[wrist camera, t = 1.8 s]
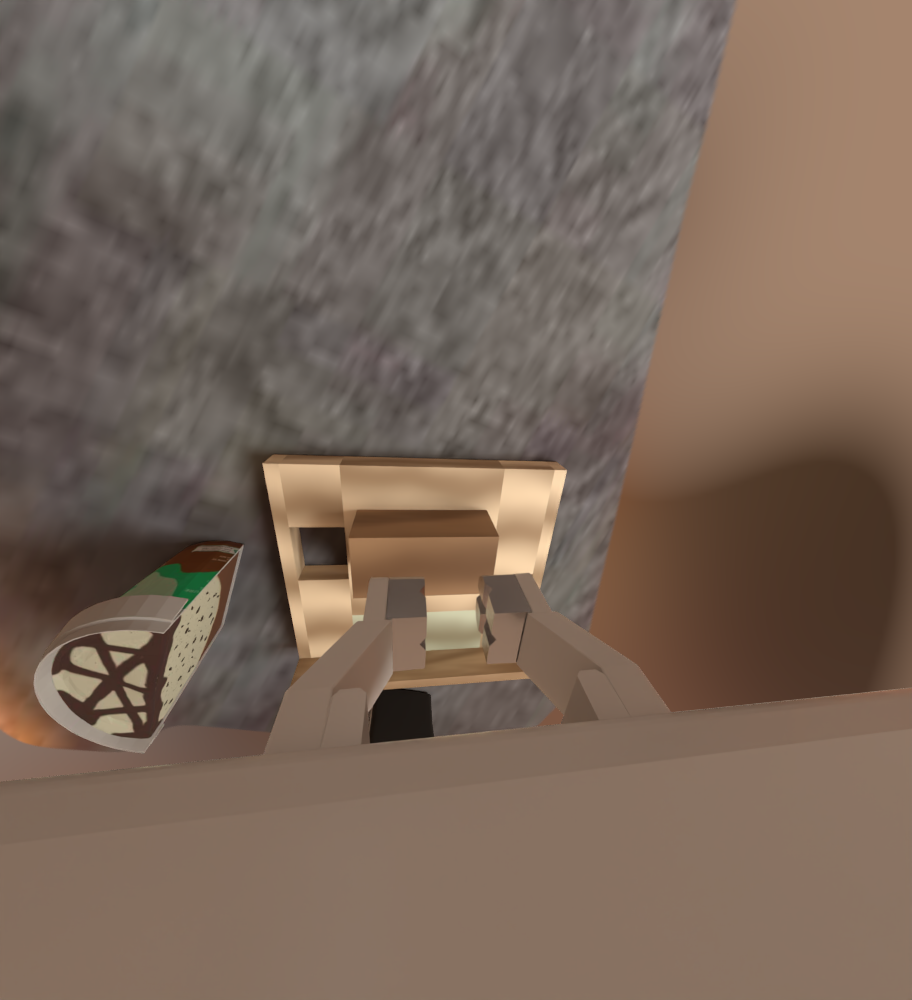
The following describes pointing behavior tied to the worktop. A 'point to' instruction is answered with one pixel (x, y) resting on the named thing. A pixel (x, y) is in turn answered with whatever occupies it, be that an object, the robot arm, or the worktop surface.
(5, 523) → the worktop surface
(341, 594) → the wooden frame
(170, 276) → the worktop surface
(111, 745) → the food container
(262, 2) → the worktop surface
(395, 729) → the battery charger
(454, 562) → the block
